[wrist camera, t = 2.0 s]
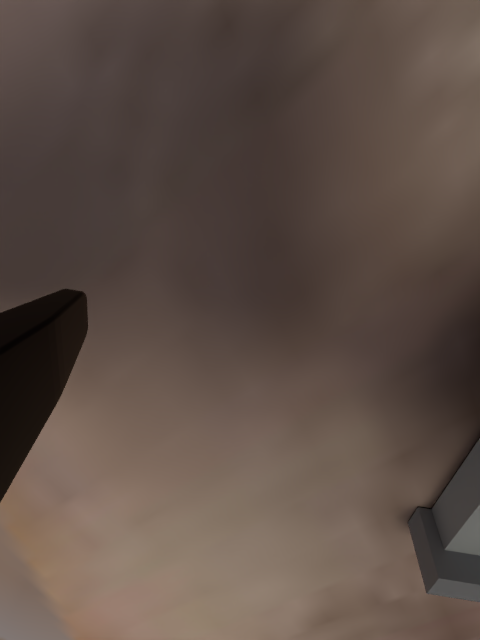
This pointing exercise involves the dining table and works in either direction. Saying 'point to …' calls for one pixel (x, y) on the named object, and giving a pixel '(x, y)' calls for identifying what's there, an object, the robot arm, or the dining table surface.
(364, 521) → the dining table surface
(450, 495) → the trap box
